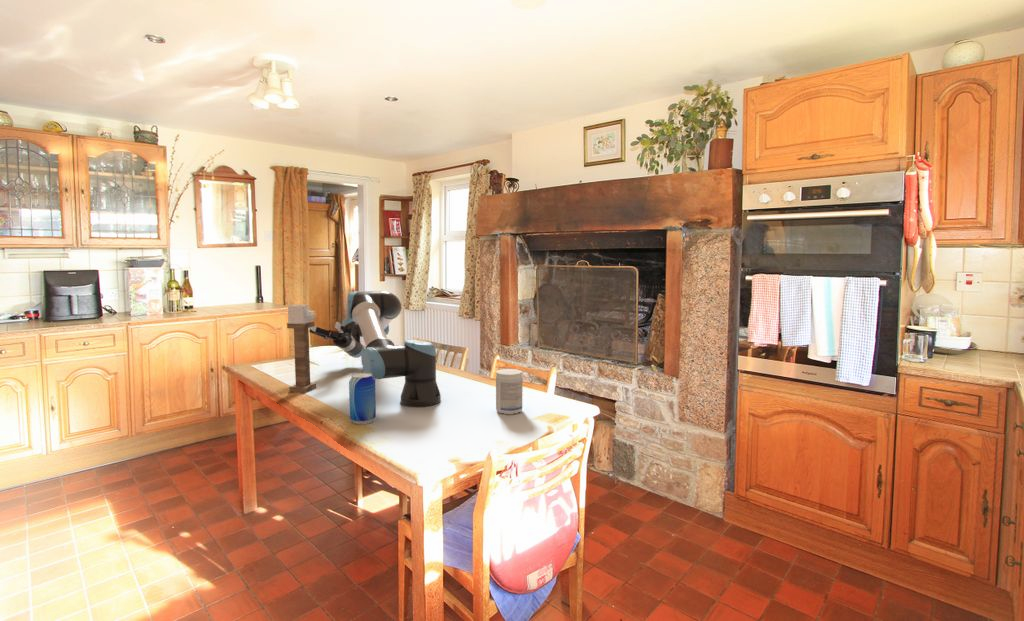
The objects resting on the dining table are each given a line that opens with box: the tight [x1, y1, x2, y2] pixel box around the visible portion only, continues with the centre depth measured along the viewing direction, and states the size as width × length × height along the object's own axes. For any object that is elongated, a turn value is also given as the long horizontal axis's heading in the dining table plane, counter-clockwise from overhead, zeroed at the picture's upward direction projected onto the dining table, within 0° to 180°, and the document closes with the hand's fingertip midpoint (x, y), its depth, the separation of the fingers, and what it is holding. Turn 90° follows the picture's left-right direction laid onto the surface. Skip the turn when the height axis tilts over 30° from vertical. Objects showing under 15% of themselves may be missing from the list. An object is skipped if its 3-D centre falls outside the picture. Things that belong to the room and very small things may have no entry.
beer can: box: [348, 372, 377, 425], centre depth 172 cm, size 8×8×16 cm
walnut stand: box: [286, 320, 317, 394], centre depth 209 cm, size 8×7×28 cm
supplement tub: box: [495, 368, 523, 415], centre depth 185 cm, size 10×10×15 cm
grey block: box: [287, 304, 318, 324], centre depth 211 cm, size 16×6×7 cm, turn 178°
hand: (321, 323), depth 223 cm, fingers open, 13 cm apart
